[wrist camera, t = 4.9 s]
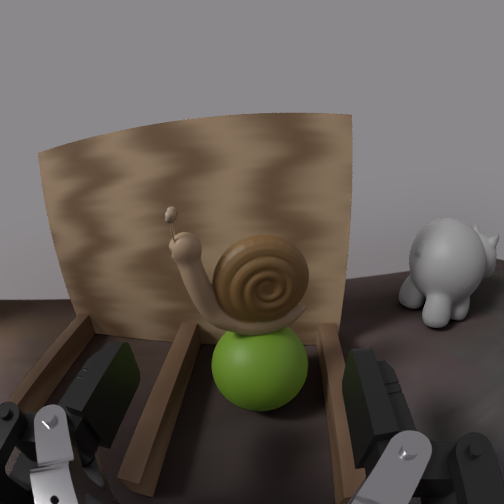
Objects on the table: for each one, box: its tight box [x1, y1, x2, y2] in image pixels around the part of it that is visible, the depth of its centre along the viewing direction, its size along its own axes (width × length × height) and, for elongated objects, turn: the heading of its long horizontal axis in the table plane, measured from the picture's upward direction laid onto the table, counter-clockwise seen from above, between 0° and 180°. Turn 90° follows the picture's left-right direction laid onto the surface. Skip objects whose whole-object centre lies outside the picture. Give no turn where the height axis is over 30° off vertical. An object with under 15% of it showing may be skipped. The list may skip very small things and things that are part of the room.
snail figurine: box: [165, 206, 309, 411], centre depth 14 cm, size 5×6×12 cm
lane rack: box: [6, 113, 366, 504], centre depth 13 cm, size 22×14×16 cm, turn 86°
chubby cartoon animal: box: [398, 218, 499, 328], centre depth 22 cm, size 8×12×9 cm, turn 98°
